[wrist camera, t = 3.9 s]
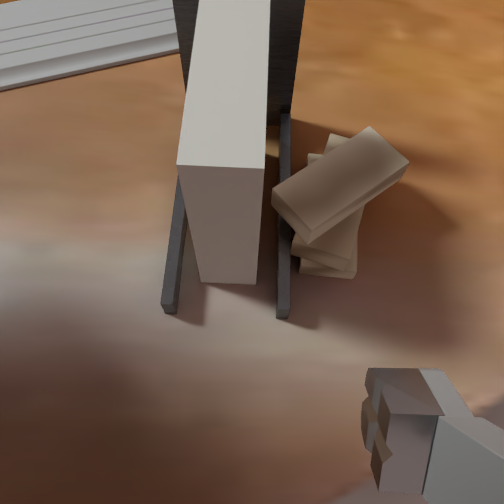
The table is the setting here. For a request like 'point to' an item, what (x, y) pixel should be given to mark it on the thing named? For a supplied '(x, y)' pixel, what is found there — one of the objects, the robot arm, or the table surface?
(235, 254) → the off-white wooden block
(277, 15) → the rack
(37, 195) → the table surface
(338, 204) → the offcut top
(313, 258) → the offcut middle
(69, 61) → the baseboard molding
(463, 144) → the table surface
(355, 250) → the block
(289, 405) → the table surface
